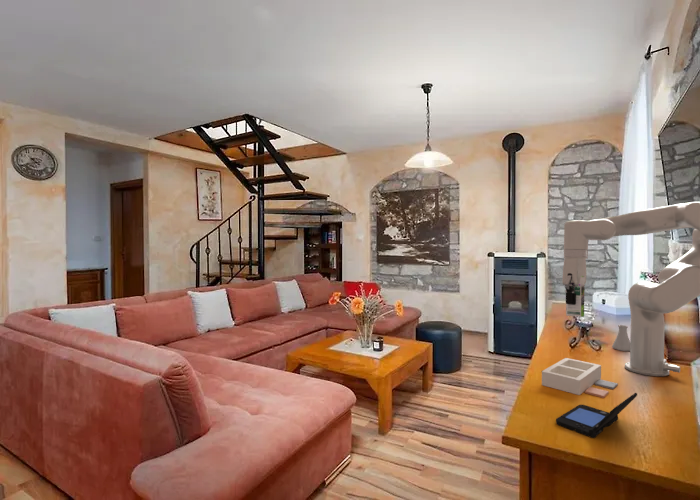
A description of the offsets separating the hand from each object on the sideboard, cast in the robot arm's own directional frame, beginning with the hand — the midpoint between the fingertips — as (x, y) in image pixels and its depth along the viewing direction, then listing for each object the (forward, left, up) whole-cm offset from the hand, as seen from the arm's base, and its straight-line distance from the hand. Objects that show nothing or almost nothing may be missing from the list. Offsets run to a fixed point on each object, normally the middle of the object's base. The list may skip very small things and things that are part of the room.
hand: (575, 302), depth 141 cm
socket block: (-7, +16, -24) cm, 30 cm away
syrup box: (0, 0, -5) cm, 5 cm away
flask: (-6, -39, -24) cm, 46 cm away
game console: (-19, +44, -24) cm, 54 cm away
